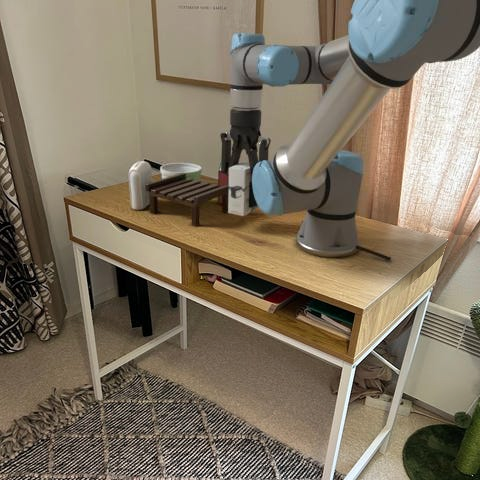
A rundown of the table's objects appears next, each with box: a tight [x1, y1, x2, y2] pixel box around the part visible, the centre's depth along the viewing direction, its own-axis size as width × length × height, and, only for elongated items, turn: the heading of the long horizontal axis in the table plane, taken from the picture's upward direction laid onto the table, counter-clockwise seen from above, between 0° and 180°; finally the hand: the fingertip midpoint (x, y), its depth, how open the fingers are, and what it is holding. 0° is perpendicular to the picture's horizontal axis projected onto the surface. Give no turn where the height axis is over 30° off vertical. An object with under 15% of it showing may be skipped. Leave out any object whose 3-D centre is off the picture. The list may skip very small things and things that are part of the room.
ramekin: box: [159, 162, 203, 181], centre depth 157 cm, size 13×13×7 cm
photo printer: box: [128, 160, 153, 211], centre depth 140 cm, size 10×4×12 cm, turn 170°
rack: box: [145, 173, 229, 227], centre depth 137 cm, size 19×16×8 cm
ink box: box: [227, 161, 258, 217], centre depth 125 cm, size 8×5×12 cm, turn 154°
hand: (243, 203), depth 127 cm, fingers closed on ink box, 5 cm apart
